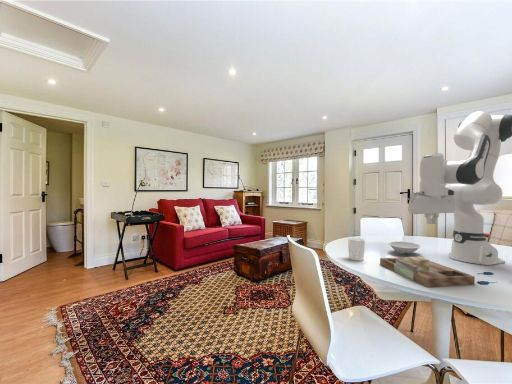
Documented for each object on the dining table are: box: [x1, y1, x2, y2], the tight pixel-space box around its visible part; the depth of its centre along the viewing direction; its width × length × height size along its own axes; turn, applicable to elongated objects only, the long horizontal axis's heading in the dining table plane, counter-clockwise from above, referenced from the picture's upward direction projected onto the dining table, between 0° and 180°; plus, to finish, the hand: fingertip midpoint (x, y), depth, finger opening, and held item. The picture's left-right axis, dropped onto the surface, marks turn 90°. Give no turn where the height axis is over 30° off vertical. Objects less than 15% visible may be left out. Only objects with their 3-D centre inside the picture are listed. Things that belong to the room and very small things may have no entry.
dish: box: [388, 240, 421, 255], centre depth 134 cm, size 18×14×5 cm
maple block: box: [408, 256, 430, 271], centre depth 101 cm, size 5×5×4 cm
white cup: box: [347, 236, 366, 262], centre depth 123 cm, size 8×8×10 cm
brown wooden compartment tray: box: [379, 256, 476, 288], centre depth 103 cm, size 20×26×6 cm
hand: (431, 223), depth 106 cm, fingers closed
